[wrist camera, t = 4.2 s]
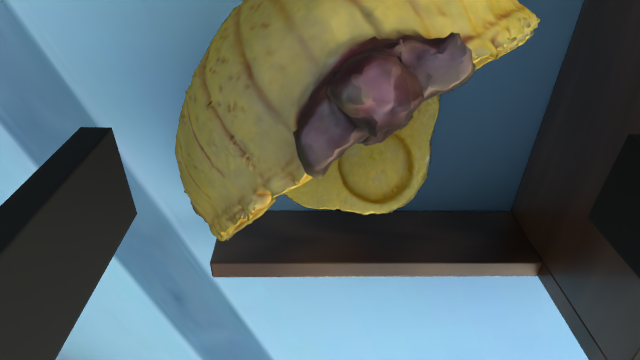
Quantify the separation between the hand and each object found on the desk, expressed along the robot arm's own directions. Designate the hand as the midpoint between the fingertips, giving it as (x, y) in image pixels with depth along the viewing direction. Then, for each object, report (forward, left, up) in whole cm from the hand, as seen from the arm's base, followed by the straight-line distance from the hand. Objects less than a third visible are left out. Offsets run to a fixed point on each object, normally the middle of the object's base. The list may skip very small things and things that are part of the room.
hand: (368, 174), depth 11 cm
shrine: (0, 0, -9) cm, 9 cm away
